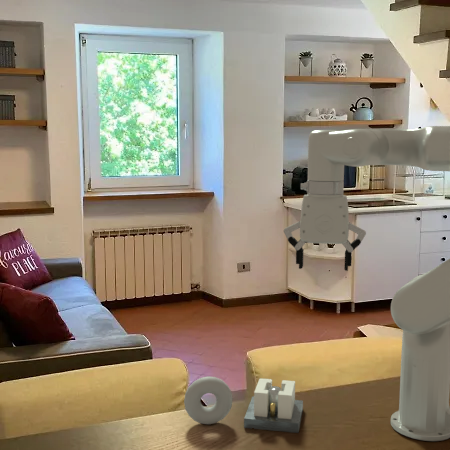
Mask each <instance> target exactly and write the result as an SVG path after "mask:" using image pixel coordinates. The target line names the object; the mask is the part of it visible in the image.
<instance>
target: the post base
mask: <svg viewBox="0 0 450 450" xmlns="http://www.w3.org/2000/svg"><path fill="white" fill-rule="evenodd" d="M268 390H269V393H268V416H267V417H262V416H254V395H253V396H251V399H250V402H249V404H248V407H247V410H246V413H245V415H244V417H243V427H244V429H252V428H254V430H264V431H265V430H266V431H274V432H275V431H276V432H283V433H284V432H285V433H297V434H299V431H300V428H301V421H302V416H303V409H304V400H303V399H302V400H300V399H299V400H298V399H295V404H294V409H293V413H292V418H291V419H284V418H278V393H279V391H281V387H279V386H275V385H274V386H273V385H272V387H269V388H268Z"/></svg>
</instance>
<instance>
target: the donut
mask: <svg viewBox="0 0 450 450" xmlns="http://www.w3.org/2000/svg"><path fill="white" fill-rule="evenodd" d="M184 393H185V394H184V400H183V404H184V408H185V409H184V410H185V411H186V413H187V415H188V417H190V418H191V419H192V420H193V421H195V422H197V423H199V424H201V425H203V424H204V425H211V424H212V425H213V424H217V423H218V422H220V421H222V420H224V419H225V417H226V416H227V415H228V414H229V413H230V411H231V409H232V406H233V399H234V398H233V395H232V394H233V393H232V390H231V388H230V387H229V385H228V384H227V383H226V382H225V381H224V380H223V379H221V378H218V377H216V376H204V377H200V378H198V379H196V380H194V381H192V382H191V384H190V385H189V386H188V387H187V389H186V392H184ZM208 394H212V395H214V396H215V398H216V399H215V400H216V401H215V403H214V404H213V405H212V406H207V407H206V406H204V405H203V404H202V402H201V399H202V398H203V397H204V395H208Z"/></svg>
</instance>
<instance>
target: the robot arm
mask: <svg viewBox="0 0 450 450" xmlns="http://www.w3.org/2000/svg"><path fill="white" fill-rule="evenodd" d="M307 148H308V149H307V181H306V182H304V183H302V182H301V183H300V190H303V191H306V193H307V194H304V195H303V197H302V203H301V210H300V219H299V220H300V221H299V220H298V221H297V222H295V223H293V224H291V225H288V226H286V227H284V228H283V233H284V235H285V237H286V239H287V241H288V243H289V244H290V245H291V246H292V247H293V248H294V249H295V265H298V269H299V270H302V269H303V267H304V249H303V246H304V245H306V243H309V244H329V245H330V244H332V245H334V244H335V245H338V244H341V245H342V246H343V247H344V248H345V250H344V269H343V270H344V271H345V272H347V271H349V267H351V266H352V259H353V258H352V257H353V255H352V253H353V251H355V249H356V248H358V247H359V246H360V245H361V243H362V241H363V240H364V238H365V236H366V235H367V231H366V230H364V229H363V228H361V227H359V226H357V225H355V224H353V223H352V222H350V219H349V218H350V217H349V216H350V214H349V213H350V212H349V203H348V197H347V195H344V188H345V187H344V186H345V185H344V184H345V183H344V180H345V179H344V178H345V177H344V175H345V166H348V167H353V168H354V167H357V168H358V167H365V166H381V165H382V166H406V167H408V166H409V167H416V168H420V169H422V170H424V171H430V172H450V125H431V126H430V125H429V126H425V127H422V128H411V129H410V128H408V129H407V128H406V129H394V128H393V129H389V128H388V129H385V128H383V129H381V128H379V129H378V128H377V129H376V128H353V129H345V130H338V129H318V130H317V129H316V130H313V131H311V132H310V133H309V135H308V147H307ZM296 230H299V238H300V239H299V240H297V239H296V238H295V237H294V235H293V233H292V232H294V231H296ZM350 231H351V232H353V233H356V234H357V236H356V238H355V239H354V240H353V241H352V242H350V241H349V234H350V233H349V232H350ZM390 314H391V318H392V320H393V322H394V323H395V324H396V326H397V327H399V328H400V329H401V330H402V339H401V340H402V341H401V358H400V359H401V361H400V379H399V381H400V382H399V399H398V400H399V402H398V403H399V404H398V405H399V406H398V410H397V411H395V412H393V413H392V415H391V417H390V425H391V427H392V429H393V430H395V431H396V432H397V433H399V434H401V435H402V436H405V437H407V438H411V439H414V440H418V441H426V442H439V441H445V440H448V439H450V258H448V259H447V260H445V261H444V262H442V263H441V264H439V265H437V266H436V267H434V268H432V269H431V270H428V271H426V272H425V273H423V274H420V275H418V276H415V277H414V278H412V279H410V281H408V282H407V283H406V284H404V285H403V286H402V287H400V288H399V289H398V290H397V291H396V292H395V294H394V295H393V296H392V300H391V303H390Z"/></svg>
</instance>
